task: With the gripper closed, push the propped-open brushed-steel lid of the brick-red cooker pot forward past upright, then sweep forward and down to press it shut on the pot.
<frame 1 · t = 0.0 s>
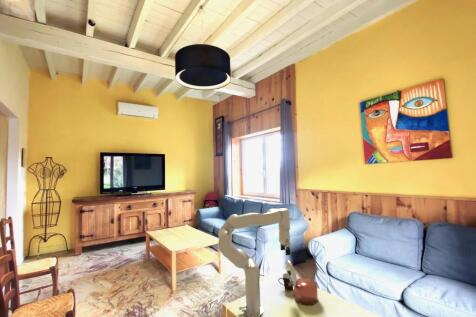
hand: (285, 252, 162), 37 cm above the table, tool pointing down, fingers open, 9 cm apart
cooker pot: (306, 298, 170), on the table
coffee mug: (286, 288, 186), on the table
cooker lid: (290, 272, 169), point 20 cm above the table, hinge at 98.0°
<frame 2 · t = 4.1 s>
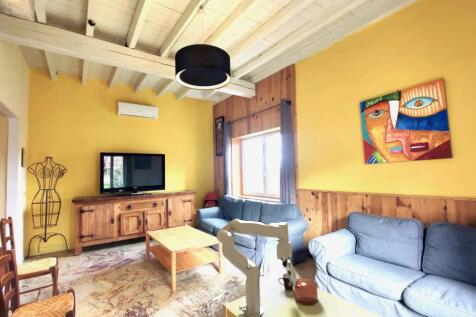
hand: (284, 266, 169), 24 cm above the table, tool pointing down, fingers closed
cooker lid: (290, 272, 169), point 20 cm above the table, hinge at 97.9°, touching gripper
everything else where it was.
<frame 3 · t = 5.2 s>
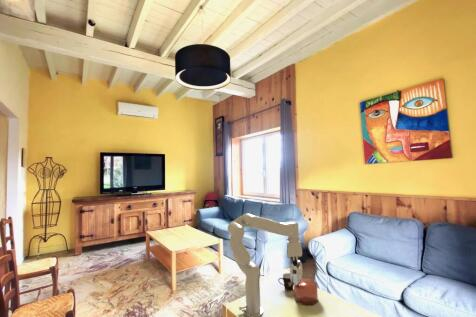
hand: (295, 265, 170), 24 cm above the table, tool pointing down, fingers closed
cooker lid: (295, 271, 170), point 20 cm above the table, hinge at 72.2°, touching gripper
everything else where it was.
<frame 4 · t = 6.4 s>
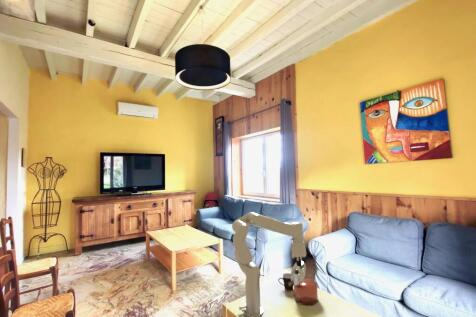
hand: (298, 265, 170), 24 cm above the table, tool pointing down, fingers closed
cooker lid: (297, 272, 170), point 19 cm above the table, hinge at 61.1°, touching gripper
everything else where it was.
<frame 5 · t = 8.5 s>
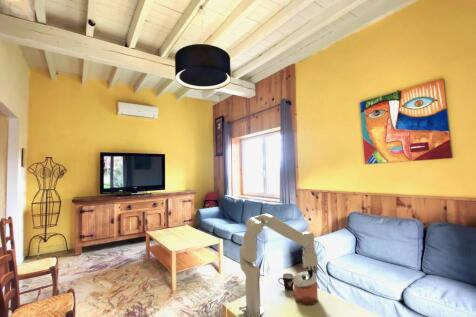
hand: (310, 275, 171), 16 cm above the table, tool pointing down, fingers closed
cooker lid: (304, 278, 171), point 15 cm above the table, hinge at 14.7°
everything else where it was.
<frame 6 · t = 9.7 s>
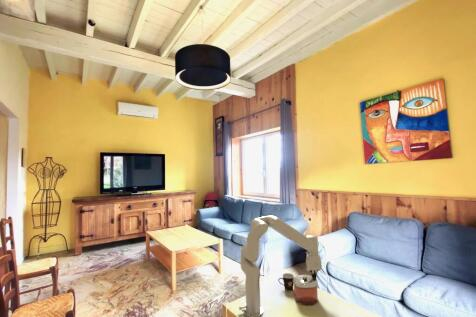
hand: (314, 278, 172), 14 cm above the table, tool pointing down, fingers closed
cooker lid: (305, 280, 171), point 13 cm above the table, hinge at 3.2°, touching gripper
everything else where it was.
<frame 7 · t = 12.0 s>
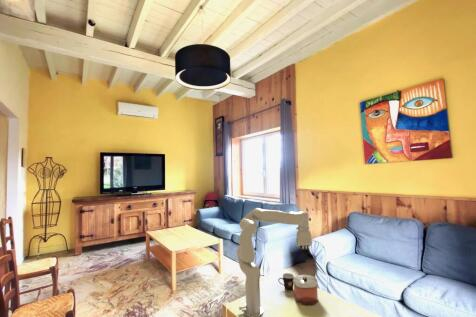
hand: (304, 254, 173), 31 cm above the table, tool pointing down, fingers closed
cooker lid: (305, 280, 171), point 13 cm above the table, hinge at 3.2°
everything else where it was.
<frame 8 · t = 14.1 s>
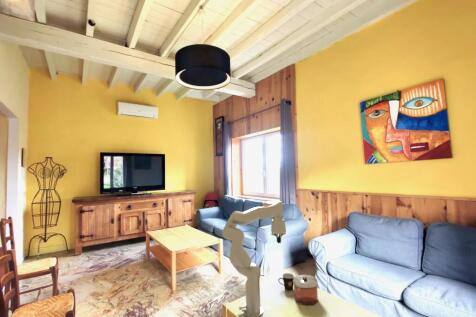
hand: (278, 242, 176), 39 cm above the table, tool pointing down, fingers closed
nothing on the table moved.
at the end: cooker lid at +3° (first picture: +98°); coffee mug moved 0.2 cm from its start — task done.
